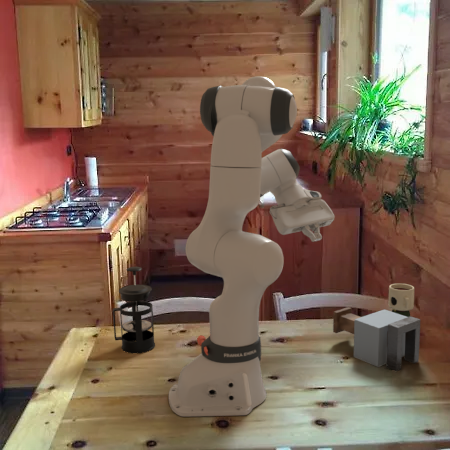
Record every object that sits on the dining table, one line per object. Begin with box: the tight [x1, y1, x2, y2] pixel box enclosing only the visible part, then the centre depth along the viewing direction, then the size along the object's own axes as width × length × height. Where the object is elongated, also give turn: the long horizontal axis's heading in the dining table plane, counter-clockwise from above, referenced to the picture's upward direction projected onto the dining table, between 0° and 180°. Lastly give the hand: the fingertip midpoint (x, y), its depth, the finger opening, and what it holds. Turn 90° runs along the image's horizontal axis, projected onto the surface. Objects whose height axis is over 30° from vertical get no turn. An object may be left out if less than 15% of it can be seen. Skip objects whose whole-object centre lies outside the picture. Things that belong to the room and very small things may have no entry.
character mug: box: [387, 283, 415, 317], centre depth 170 cm, size 11×7×13 cm, turn 3°
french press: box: [112, 266, 156, 354], centre depth 161 cm, size 12×9×23 cm
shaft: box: [332, 306, 388, 341], centre depth 157 cm, size 18×6×6 cm, turn 36°
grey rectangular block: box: [353, 309, 407, 368], centre depth 153 cm, size 8×12×10 cm, turn 126°
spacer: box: [386, 315, 421, 372], centre depth 147 cm, size 3×9×12 cm, turn 126°
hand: (317, 239), depth 167 cm, fingers closed
